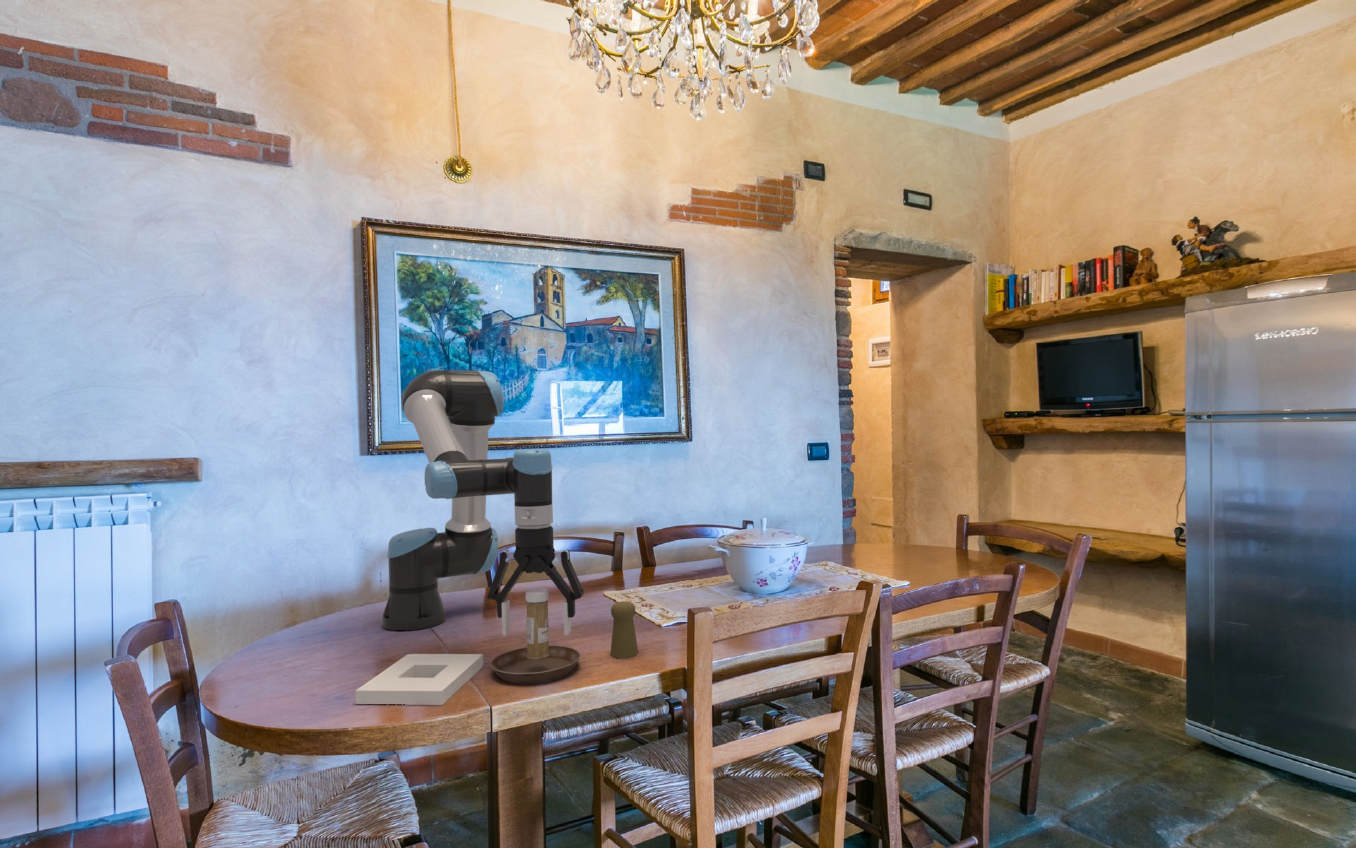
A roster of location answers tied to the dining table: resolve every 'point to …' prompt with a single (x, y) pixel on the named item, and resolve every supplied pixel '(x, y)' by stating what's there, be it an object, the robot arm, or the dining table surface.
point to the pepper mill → (623, 631)
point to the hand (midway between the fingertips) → (536, 633)
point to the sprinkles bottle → (537, 624)
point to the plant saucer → (535, 665)
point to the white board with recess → (420, 679)
